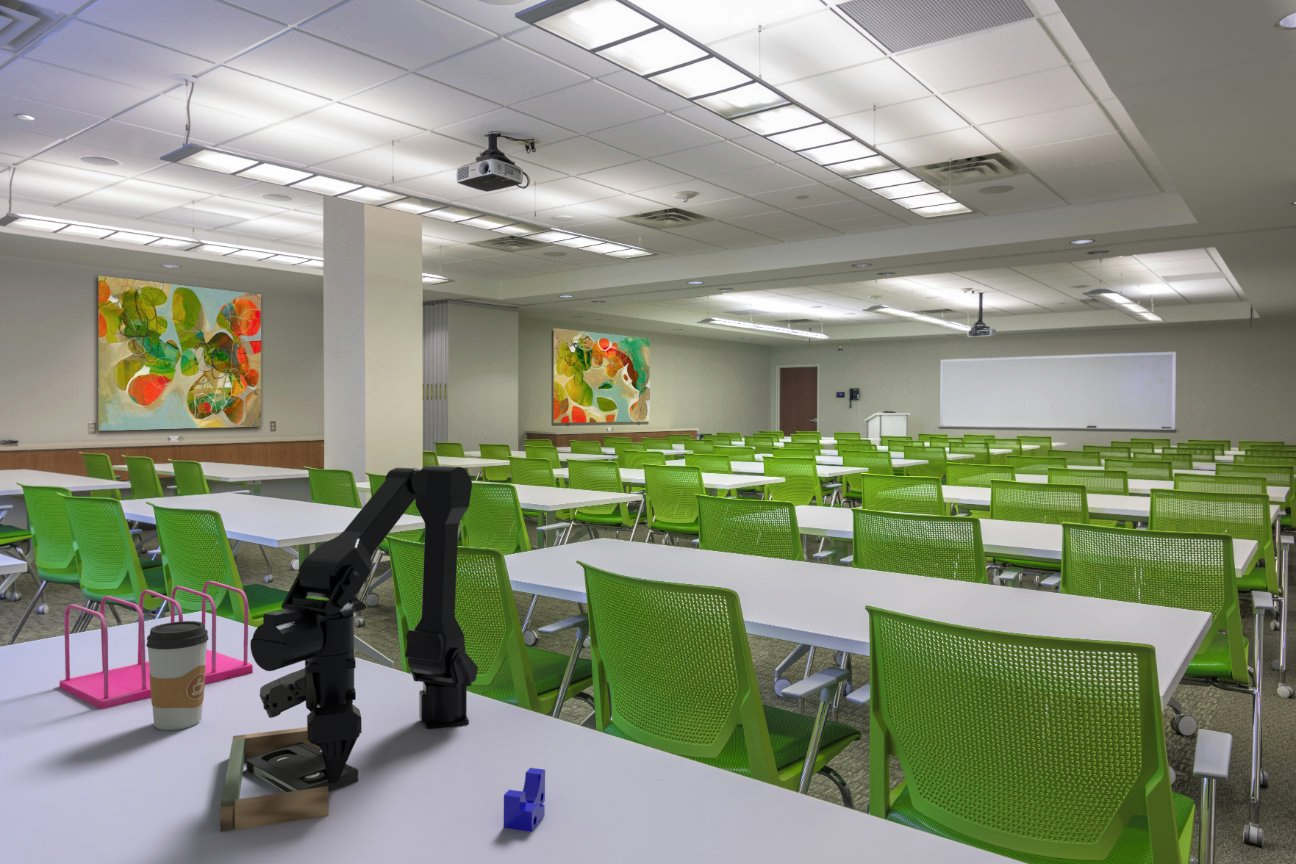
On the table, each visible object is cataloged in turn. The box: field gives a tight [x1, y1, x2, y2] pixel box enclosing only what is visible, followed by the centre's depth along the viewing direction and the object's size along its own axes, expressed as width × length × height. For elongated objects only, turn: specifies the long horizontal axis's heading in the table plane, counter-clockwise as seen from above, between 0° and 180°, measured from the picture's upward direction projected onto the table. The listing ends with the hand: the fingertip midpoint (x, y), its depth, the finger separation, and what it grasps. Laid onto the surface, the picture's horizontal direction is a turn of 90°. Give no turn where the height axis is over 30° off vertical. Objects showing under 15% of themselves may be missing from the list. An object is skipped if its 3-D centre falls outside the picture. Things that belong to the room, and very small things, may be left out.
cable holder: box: [503, 767, 546, 833], centre depth 104 cm, size 8×4×4 cm, turn 165°
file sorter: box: [59, 580, 254, 710], centre depth 152 cm, size 17×25×16 cm
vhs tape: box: [245, 742, 359, 793], centre depth 113 cm, size 14×8×2 cm, turn 50°
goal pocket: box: [219, 726, 329, 833], centre depth 111 cm, size 12×23×3 cm, turn 22°
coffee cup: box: [145, 620, 210, 731], centre depth 131 cm, size 8×8×15 cm
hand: (331, 768), depth 113 cm, fingers open, 9 cm apart
